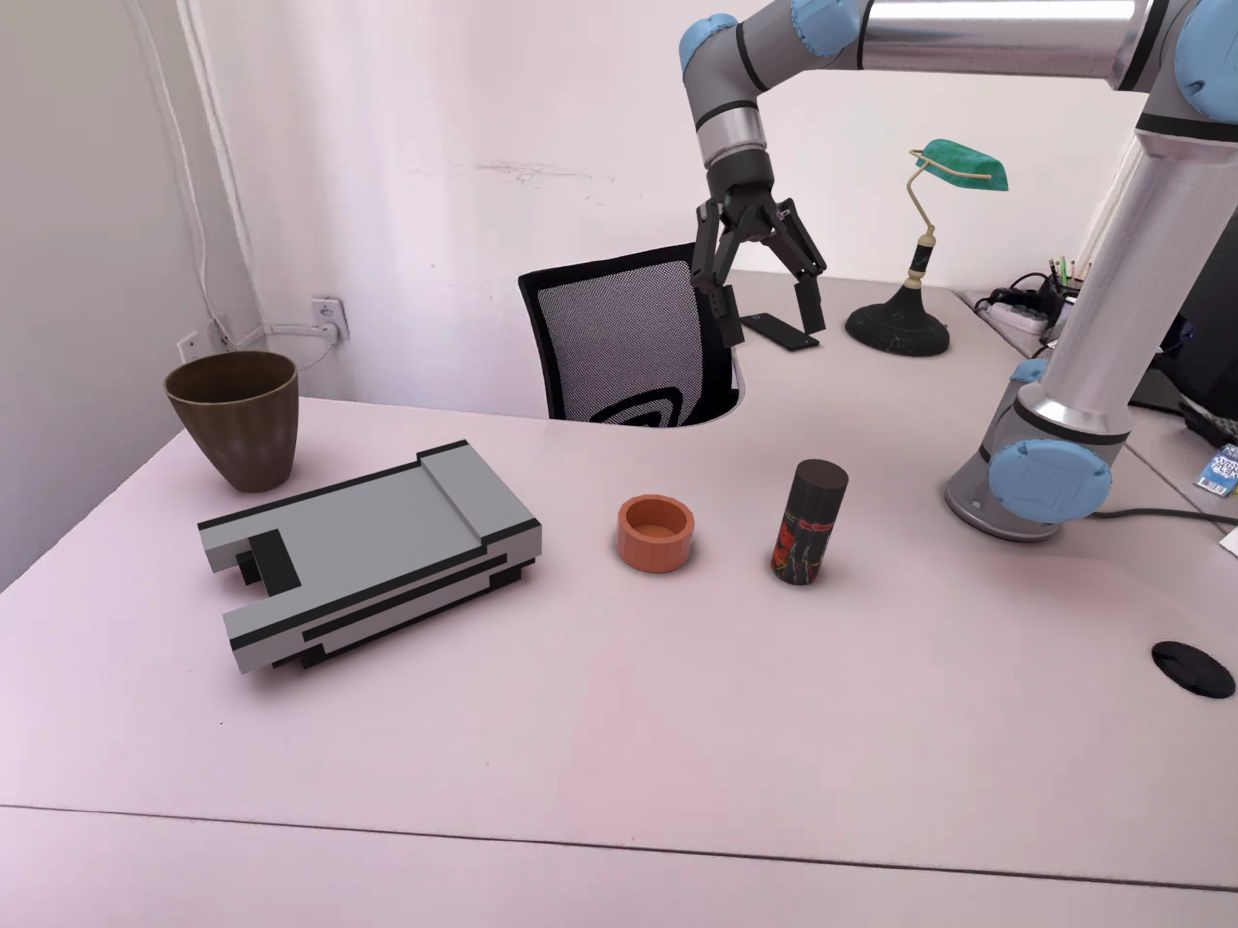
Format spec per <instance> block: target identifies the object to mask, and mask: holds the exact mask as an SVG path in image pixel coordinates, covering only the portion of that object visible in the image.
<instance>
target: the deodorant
mask: <svg viewBox="0 0 1238 928" xmlns="http://www.w3.org/2000/svg"><path fill="white" fill-rule="evenodd" d="M849 481H850V477H849V474H848V473H847V471H846V470H845V469H844V468H843V467H841V466H840V465H838V464H836V463H834V462H831V461H829V460H826V459H819V458H808V459H803V460H801V461H800V462H798V463H797V465H796V467H795V472H794V477H793V479H792V483H791V487H790V491H789V493H788V497H787V501H786V505H785V507H784V511H783V515H782V518H781V524H780V527H779V529H778V534H777V537H776V540H775V541H776V542H775V544H774V549H773V552H772V556H771V559H770V569H771V571H772V574H774V575H775V577H777V578H778V579H780V581H783V582H785V583H787V584H790V585H793V586H807V585H810V584H812V583H813V582H815V581H816V579H817V577H818V575H819V572H820V568H821V565H822V562H823V559H824V556H825V554H826V551H827V548H828V545H829V542H830V538H831V536H832V532H833V530H834V527H835V523H836V521H837V518H838V514H839V511H840V508H841V505H842V503H843V500H844V497H845V494H846V491H847V487H848V486H849Z"/></svg>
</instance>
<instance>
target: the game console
mask: <svg viewBox="0 0 1238 928" xmlns="http://www.w3.org/2000/svg"><path fill="white" fill-rule="evenodd" d="M415 455H416V460H414V461H411V462H406V463H403V464H400V465H396V466H394V467H390V468H385V469H383V470H379V471H375V472H372V473H367V474H365V475H362V476H358V477H354V478H351V479H348V480H344V481H341V482H337V483H334V484H330V485H326V486H323V487H319V488H316V489H313V490H310V491H306V492H302V493H298V494H295V495H291V496H288V497H285V498H284V497H283V498H281V499H277V500H274V501H271V502H267V503H263V504H260V505H257V506H253V507H250V508H246V509H242V510H239V511H236V512H232V513H229V514H225V515H221V516H219V517H214V518H211V519H208V520H204V521H200V522H197V523H196V525H197V530H198V533H199V536H200V537H199V538H200V540H201V544H202V547H203V550H204V553H205V556H206V559H207V561H208V564H209V566H210V569H211V572H212V574H216V573H220V572H222V571H225V570H228V569H232V568H235V567H238V568H239V570H240V573H241V576H242V579H243V583H244V585H245V587H247V586H250V585H254V584H256V583H260V582H262V583H263V586H264V588H265V591H266V594H267V598H265V599H264V598H263V599H261V600H258V601H255V602H252V603H250V604H247V605H244V606H241V607H238V608H236V609H233V610H229V611H227V612H224V613H222V614H221V616H222V620H223V622H224V623H223V624H224V627H225V630H226V633H227V637H228V641H229V645H230V649H231V652H232V654H233V657H234V660H235V662H236V664H237V666H238V670H239V672H240V674H241V676H243V675H245V674H247V673H250V672H253V671H255V670H257V669H260V668H262V667H265V666H267V665H270V664H271V667H272V669H273V670H275V669H277V668H280V667H283V666H286V665H287V664H289V663H292V662H294V661H297V660H299V661H300V663H301V666H302V669H303V670H308V669H309V668H312V667H315V666H317V665H320V664H321V663H324V662H326V661H328V660H331V659H333V658H336V657H338V656H341V655H343V654H345V653H349V652H350V651H352V650H356V649H357V648H359V647H362V646H365V645H367V644H370V643H372V642H373V641H376V640H379V639H382V638H384V637H386V636H389V635H391V634H394V633H396V632H399V631H401V630H403V629H406V628H408V627H411V626H413V625H415V624H418V623H421V622H423V621H425V620H427V619H430V618H433V617H434V616H437V615H440V614H442V613H444V612H447V611H449V610H451V609H454V608H457V607H459V606H461V605H463V604H466V603H468V602H471V601H473V600H475V599H477V598H480V597H483V596H485V595H487V594H490V593H492V592H495V591H497V590H499V589H501V588H504V587H506V586H510V585H512V584H514V583H516V582H519V581H521V580H522V579H523V577H522V569H524V568H526V567H529V566H531V565H533V564H536V557H539V556H542V555H543V524H542V523H541V522H540V521H539V519H537V517H536V516H535V515H534V514H533V513H532V512H531V511H530V510H529V508H527V507H526V505H525V504H524V503H523V502H522V501H521V500H520V499H519V497H518V496H517V495H516V494H515V493H514V492H513V490H512V489H511V488H510V487H509V486H508V485H507V484H506V483H505V482H504V480H503V479H501V477H500V476H499V474H497V473H496V472H495V471H494V469H493V468H492V467H491V466H490V465H489V464H488V463H487V461H486V460H485V459H484V458H483V457H482V456H481V455H480V454H479V452H477V451H476V449H475V448H474V447H473V446H472V445H471V444H470V442H469V441H468V440H467V439H466V438H464V439H460V440H457V441H453V442H449V443H447V444H443V445H442V444H441V445H439V446H436V447H432V448H429V449H424V450H421V451H417V452H415Z"/></svg>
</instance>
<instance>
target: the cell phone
mask: <svg viewBox="0 0 1238 928" xmlns="http://www.w3.org/2000/svg"><path fill="white" fill-rule="evenodd" d="M739 317H740V321H741V325H744V326H746V327H748V328H749V329H751V330H752V331H755V332H756V333H757V334H759V335H761V336H763V337H765V338H766V339H769V340H770V341H772V342H773V343H775V344H777V345H778V346H780V347H782V348H784V349H786V350H787V351H788V352H796V351H800V350H805V349H809V348H815V347H818V346H819V345H820V340H819V339H817V338H815V337H813V336H811V335H806V336H805V332H803V331H802V330H800V329H798V328H797V327H794V326H793V325H791V324H789V323H787V322H785V321H783V320H782V319H780V318H778V317H776V316H774V315H773V314H770V313H768V312H761V313H755V314H750V315H745V316H739Z"/></svg>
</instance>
